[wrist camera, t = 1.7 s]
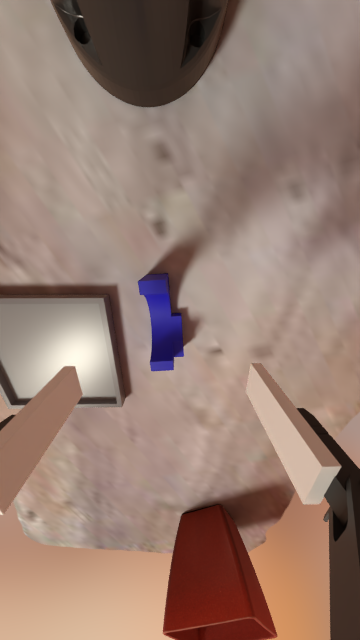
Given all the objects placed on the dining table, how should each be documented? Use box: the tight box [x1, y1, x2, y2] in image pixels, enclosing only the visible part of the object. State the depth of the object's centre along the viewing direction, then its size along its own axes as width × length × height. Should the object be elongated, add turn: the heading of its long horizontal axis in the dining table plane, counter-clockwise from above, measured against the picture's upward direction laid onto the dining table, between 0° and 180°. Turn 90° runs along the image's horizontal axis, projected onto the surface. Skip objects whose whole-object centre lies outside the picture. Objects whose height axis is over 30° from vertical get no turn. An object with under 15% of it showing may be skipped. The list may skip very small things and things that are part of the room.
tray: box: [0, 295, 125, 409], centre depth 27 cm, size 20×20×2 cm
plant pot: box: [163, 505, 277, 640], centre depth 43 cm, size 19×19×17 cm
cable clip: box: [138, 273, 184, 371], centre depth 23 cm, size 12×4×6 cm, turn 3°
